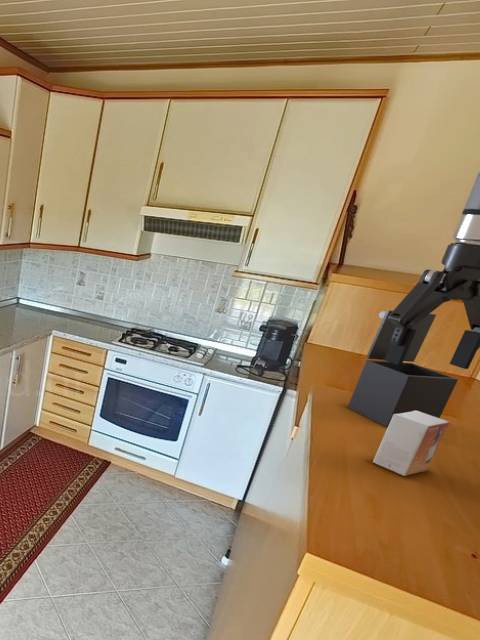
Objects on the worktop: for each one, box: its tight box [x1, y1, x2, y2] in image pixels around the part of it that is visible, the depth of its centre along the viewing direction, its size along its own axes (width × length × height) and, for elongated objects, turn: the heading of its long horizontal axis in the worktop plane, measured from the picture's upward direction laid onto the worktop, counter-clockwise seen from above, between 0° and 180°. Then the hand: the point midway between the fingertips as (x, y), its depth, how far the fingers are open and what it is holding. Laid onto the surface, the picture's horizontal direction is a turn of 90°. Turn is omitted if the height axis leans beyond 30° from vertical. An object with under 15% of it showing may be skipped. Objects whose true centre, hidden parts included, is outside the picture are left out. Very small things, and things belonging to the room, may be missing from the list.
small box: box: [372, 410, 450, 477], centre depth 92 cm, size 8×6×10 cm
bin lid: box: [366, 309, 437, 363], centre depth 120 cm, size 12×12×6 cm
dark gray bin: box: [347, 359, 459, 428], centre depth 117 cm, size 11×12×13 cm
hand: (425, 364), depth 88 cm, fingers open, 13 cm apart
